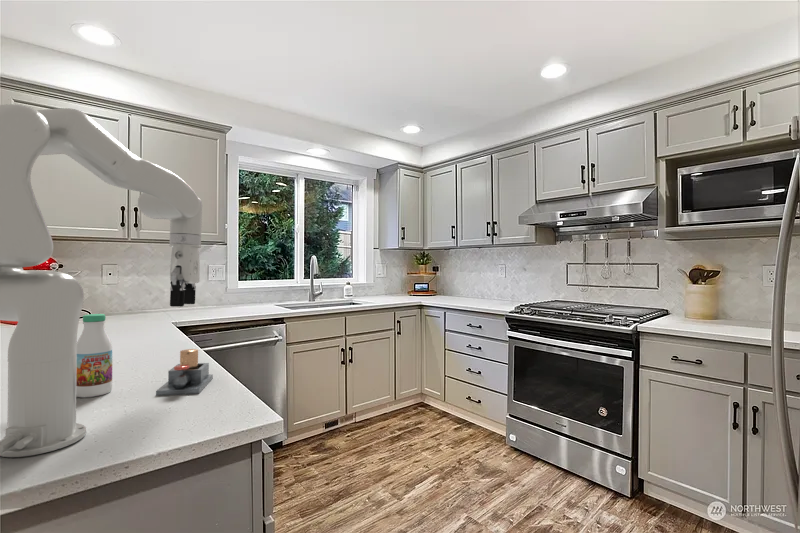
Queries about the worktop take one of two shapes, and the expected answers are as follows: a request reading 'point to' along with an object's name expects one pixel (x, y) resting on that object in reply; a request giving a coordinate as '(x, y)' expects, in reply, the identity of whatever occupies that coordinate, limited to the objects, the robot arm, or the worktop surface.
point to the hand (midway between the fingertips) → (183, 305)
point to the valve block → (186, 380)
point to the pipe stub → (189, 358)
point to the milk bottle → (94, 358)
